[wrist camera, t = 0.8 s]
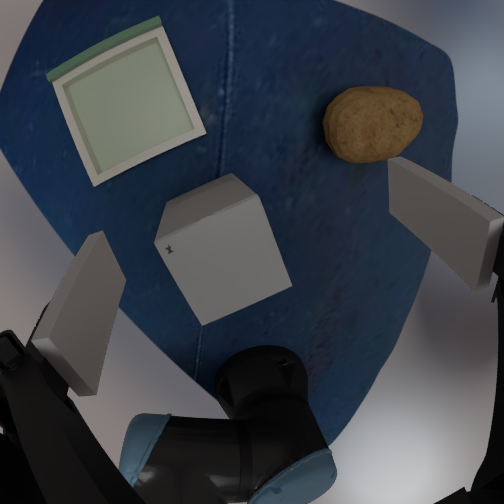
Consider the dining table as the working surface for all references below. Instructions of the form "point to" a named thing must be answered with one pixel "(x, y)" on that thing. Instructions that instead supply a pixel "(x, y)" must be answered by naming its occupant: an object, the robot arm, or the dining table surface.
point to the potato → (371, 123)
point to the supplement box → (220, 248)
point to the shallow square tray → (126, 100)
